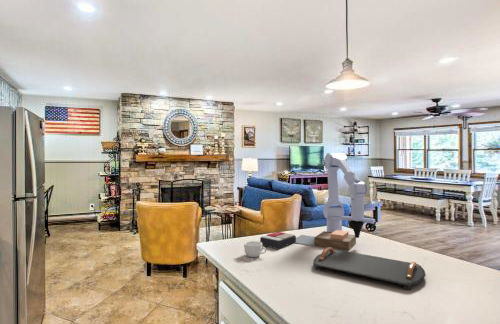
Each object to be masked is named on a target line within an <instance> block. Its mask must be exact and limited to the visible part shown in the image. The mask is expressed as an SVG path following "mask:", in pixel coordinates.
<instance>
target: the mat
mask: <svg viewBox="0 0 500 324" xmlns="http://www.w3.org/2000/svg"><path fill="white" fill-rule="evenodd" d="M314 237H315V236H313V235H305V234H301V235H299V236H296V242H294V243H293V244H297V245H302V246H303V245H305V246H310V247H313V246H314Z"/></svg>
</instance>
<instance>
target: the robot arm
mask: <svg viewBox="0 0 500 324" xmlns="http://www.w3.org/2000/svg"><path fill="white" fill-rule="evenodd" d="M324 167H325V169H326V170H327V190H328V200H327V201H326V202H324V204H323V209H322V214H323V217H324V218H325V219H326V232H334V231H335V230H340V231H343V221H346V222H350V226H351V227H352V230H353V233H354V235H355V238H356V239H358V238H360V234H361V231H362V228H363V226H364V224H372V225H374V224H375V218H370V217H365V195H366V194H367V191H368V186H367V184H366V182H365V181H362V180H361V179H360V178H359V176H358V175H357V174H356V172H355V171H354V170H351V168H350V166H349V164H348V156H347V155H346V153H345V152H327V153H326V155H325V157H324ZM339 170H340V171H342V173H343V174H344V175H343V178H344V180H345V182H346V184H347V186H348V192H349V198H350V215H345V209H344V205H343V203H342V202H341V201H340V200H339V184H338V171H339Z"/></svg>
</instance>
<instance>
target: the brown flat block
mask: <svg viewBox="0 0 500 324" xmlns="http://www.w3.org/2000/svg"><path fill="white" fill-rule="evenodd" d="M331 233H333V232H327V230H326V231H321V232H320V233H319V234H318V235H315V236H314V245H313V246H315V247H321V248H325V249H326V248H328V247H331V248H333V250H342V251H348V252H350V250H351V249H352V248H353V247H354V246H355V245H356V244H357V238H355V234H350V233H348V236H347V237H346V238H345V239H344V240H340V239H333V238H330V236H331Z"/></svg>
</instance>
